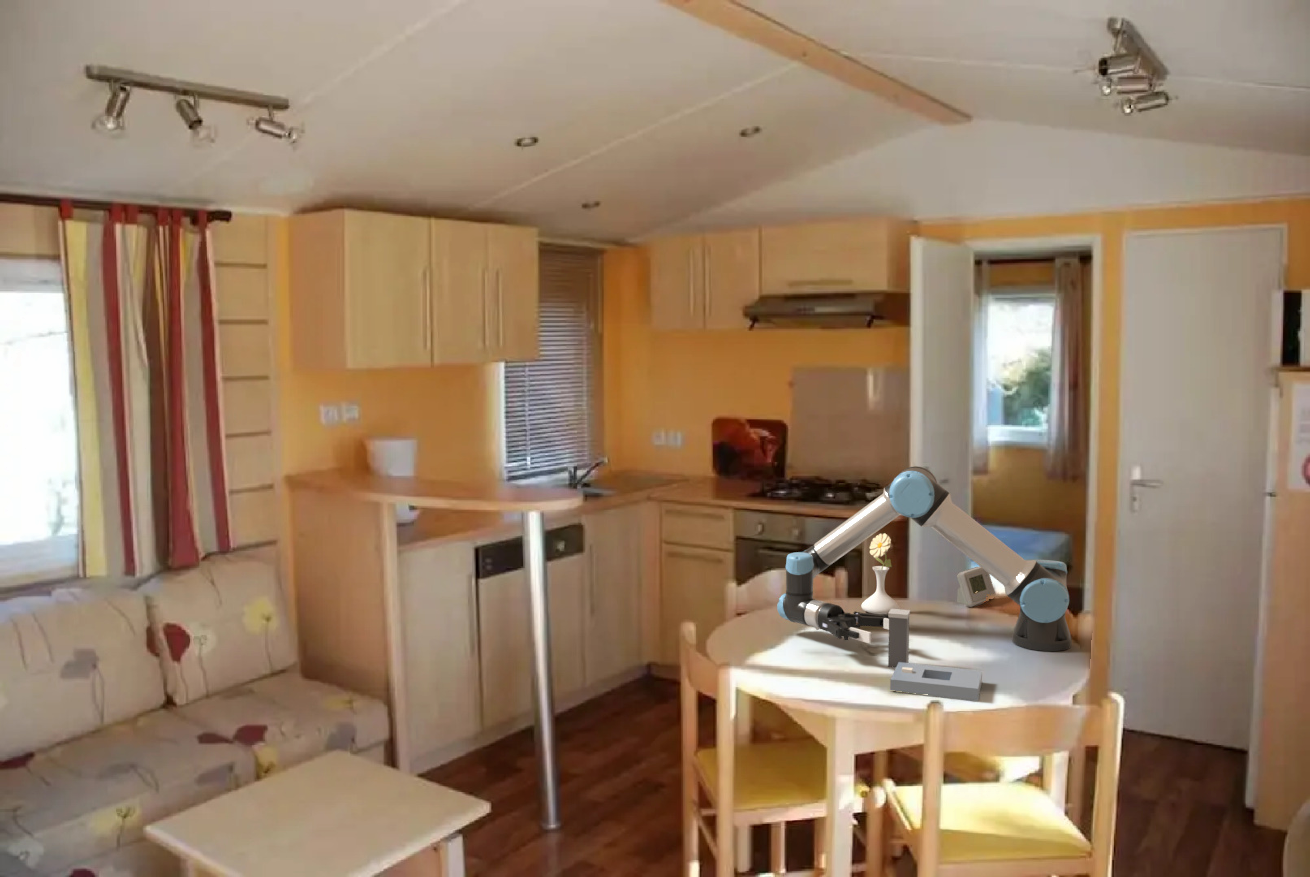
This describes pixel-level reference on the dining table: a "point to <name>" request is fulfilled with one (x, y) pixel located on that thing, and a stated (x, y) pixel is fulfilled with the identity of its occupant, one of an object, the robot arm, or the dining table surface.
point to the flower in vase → (880, 579)
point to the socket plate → (937, 681)
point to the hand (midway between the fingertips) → (887, 633)
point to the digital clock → (974, 586)
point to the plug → (898, 637)
